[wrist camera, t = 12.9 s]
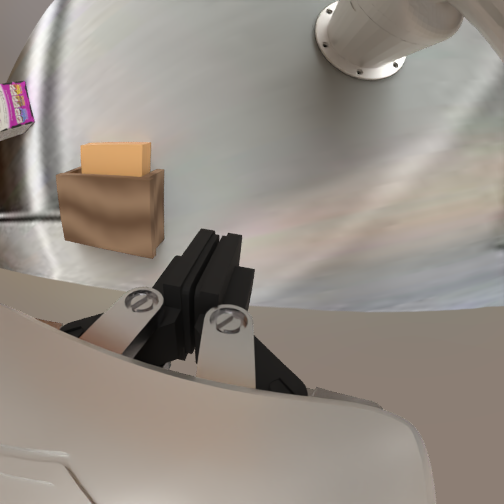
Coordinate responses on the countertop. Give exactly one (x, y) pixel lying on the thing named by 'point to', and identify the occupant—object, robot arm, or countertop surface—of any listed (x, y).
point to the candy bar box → (14, 110)
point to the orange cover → (116, 158)
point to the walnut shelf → (113, 210)
